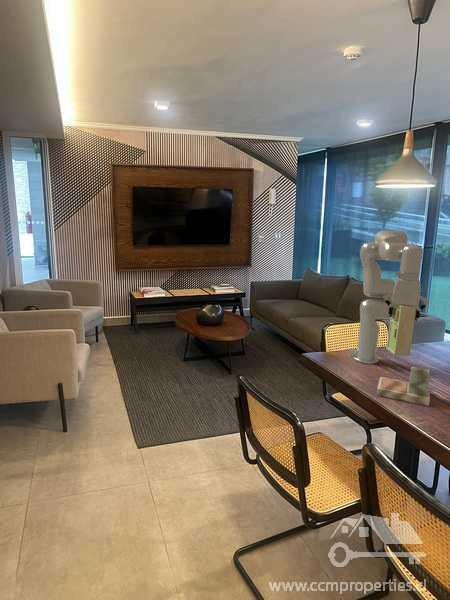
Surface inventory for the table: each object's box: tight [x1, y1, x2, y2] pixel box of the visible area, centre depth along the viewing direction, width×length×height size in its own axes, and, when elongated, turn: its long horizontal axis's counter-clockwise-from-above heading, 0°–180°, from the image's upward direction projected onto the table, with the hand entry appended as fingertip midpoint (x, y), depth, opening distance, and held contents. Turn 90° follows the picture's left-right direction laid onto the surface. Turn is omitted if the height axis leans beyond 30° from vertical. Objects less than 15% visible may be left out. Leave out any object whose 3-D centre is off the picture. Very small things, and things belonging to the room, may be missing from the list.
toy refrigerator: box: [385, 304, 417, 356], centre depth 177 cm, size 8×7×21 cm
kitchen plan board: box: [376, 366, 431, 407], centre depth 179 cm, size 20×14×11 cm
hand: (403, 318), depth 175 cm, fingers closed on toy refrigerator, 9 cm apart
